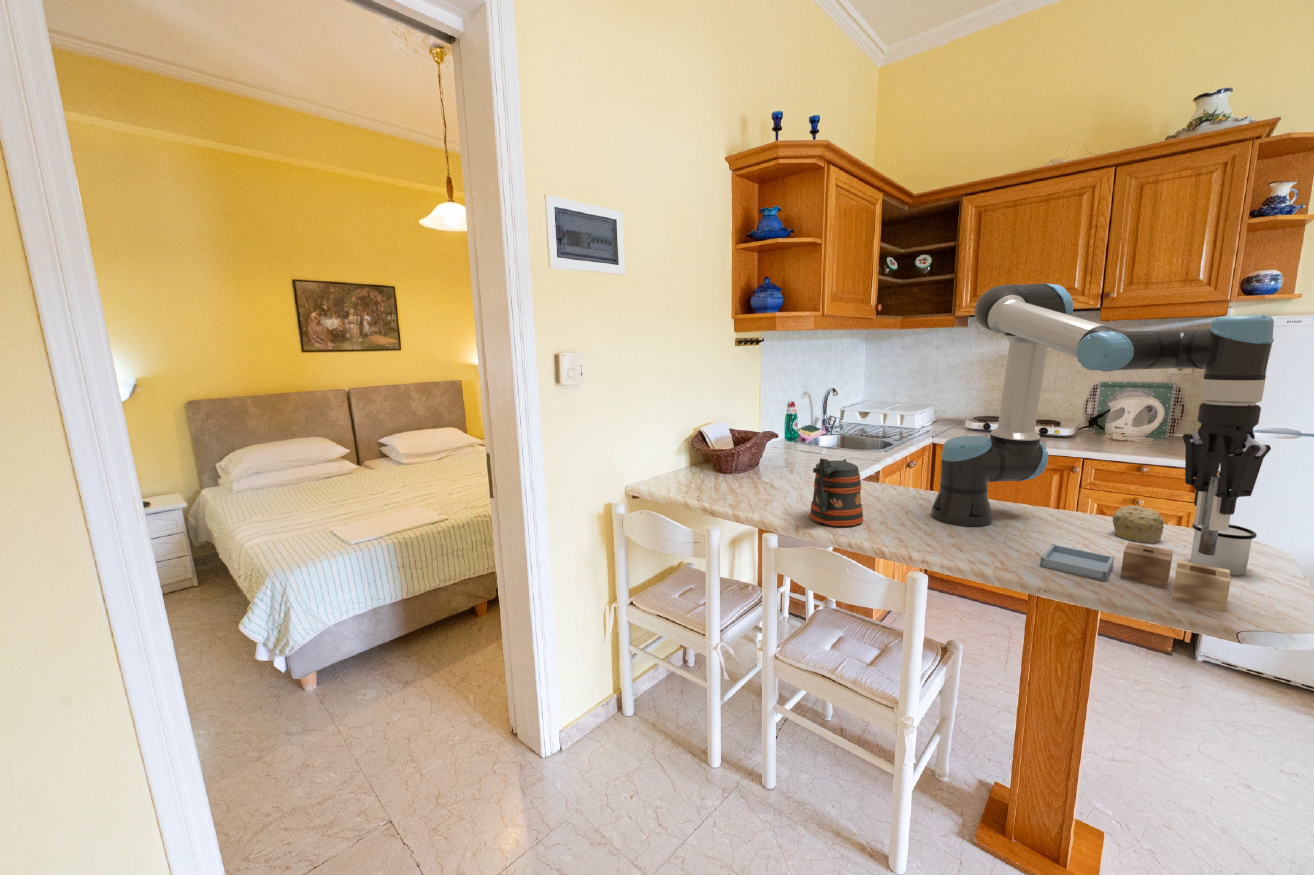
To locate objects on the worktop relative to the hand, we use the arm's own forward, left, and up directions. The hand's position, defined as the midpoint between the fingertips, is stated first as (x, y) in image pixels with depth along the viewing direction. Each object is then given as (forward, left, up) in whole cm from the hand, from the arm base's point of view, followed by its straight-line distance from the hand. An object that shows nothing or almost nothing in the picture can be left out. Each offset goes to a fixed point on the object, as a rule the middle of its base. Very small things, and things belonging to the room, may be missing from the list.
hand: (1210, 527), depth 97 cm
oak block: (0, 0, -15) cm, 15 cm away
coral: (-12, +34, -15) cm, 39 cm away
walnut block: (-8, +6, -15) cm, 18 cm away
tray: (-19, +3, -15) cm, 24 cm away
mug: (+2, +23, -15) cm, 28 cm away
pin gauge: (0, 0, -5) cm, 5 cm away
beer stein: (-73, -6, -15) cm, 75 cm away
